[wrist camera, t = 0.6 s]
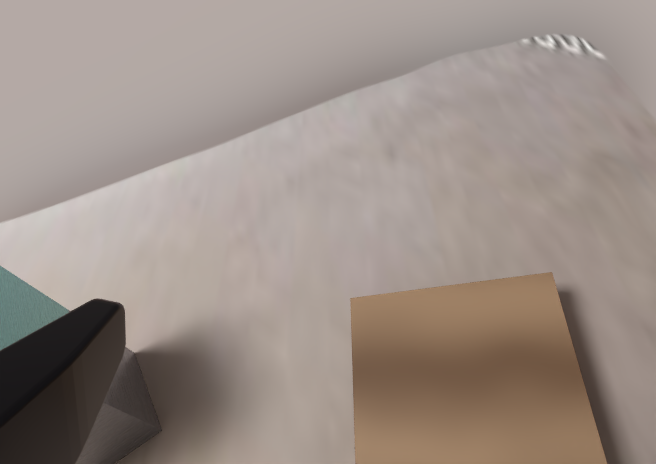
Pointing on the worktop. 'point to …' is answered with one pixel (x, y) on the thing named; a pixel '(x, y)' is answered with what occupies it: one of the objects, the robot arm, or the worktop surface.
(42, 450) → the robot arm
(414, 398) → the stand
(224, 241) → the worktop surface
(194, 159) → the worktop surface
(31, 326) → the teal block grey base
